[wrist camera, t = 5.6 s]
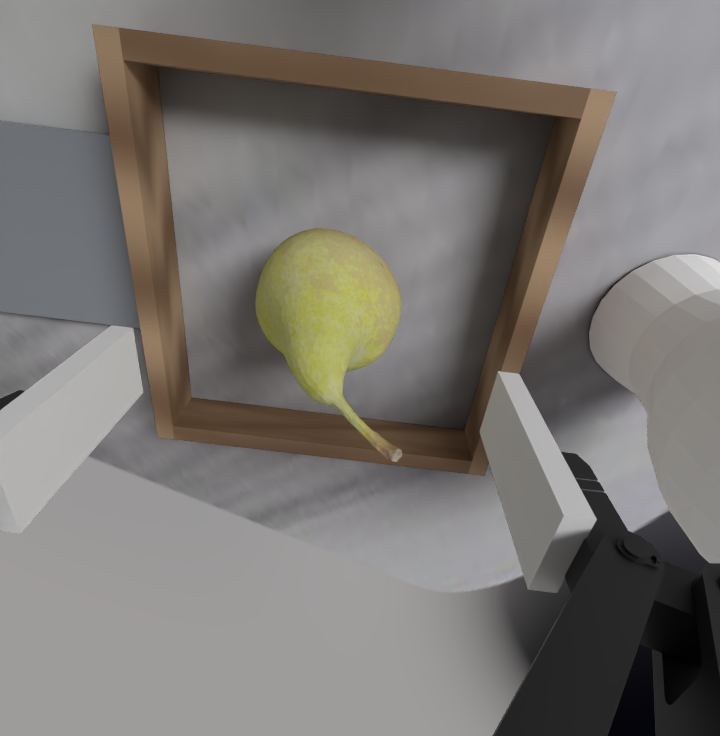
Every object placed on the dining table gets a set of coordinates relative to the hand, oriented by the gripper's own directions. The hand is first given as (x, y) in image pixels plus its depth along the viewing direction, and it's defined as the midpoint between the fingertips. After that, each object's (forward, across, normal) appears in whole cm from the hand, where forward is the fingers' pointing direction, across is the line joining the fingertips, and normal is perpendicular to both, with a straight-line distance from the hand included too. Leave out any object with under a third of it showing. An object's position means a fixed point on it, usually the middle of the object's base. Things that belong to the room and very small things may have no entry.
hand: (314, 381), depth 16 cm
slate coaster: (+10, -16, +2) cm, 19 cm away
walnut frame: (+10, 0, 0) cm, 10 cm away
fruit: (+10, 0, 0) cm, 10 cm away
